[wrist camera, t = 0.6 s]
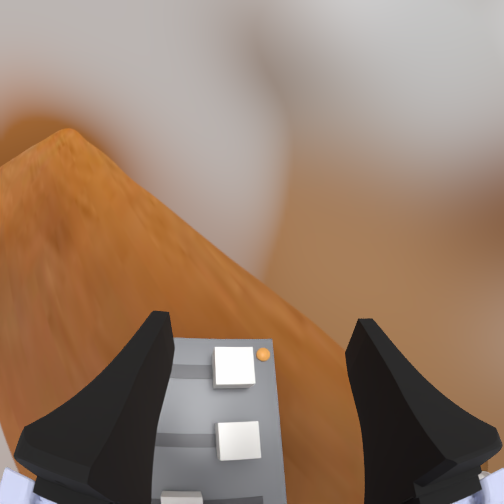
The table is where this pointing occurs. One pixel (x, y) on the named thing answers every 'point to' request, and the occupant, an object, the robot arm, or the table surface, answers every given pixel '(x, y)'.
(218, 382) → the switch
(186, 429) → the switch panel
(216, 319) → the table surface
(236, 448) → the switch middle
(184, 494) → the switch
